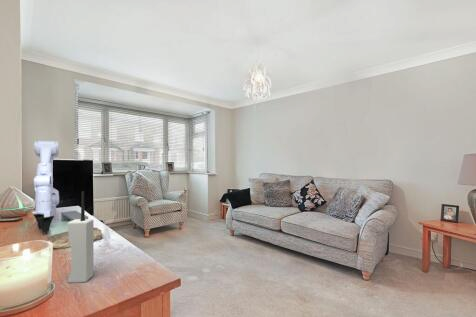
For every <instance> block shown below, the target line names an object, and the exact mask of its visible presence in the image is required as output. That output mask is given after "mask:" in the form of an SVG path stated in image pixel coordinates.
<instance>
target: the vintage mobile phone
mask: <svg viewBox="0 0 476 317" xmlns="http://www.w3.org/2000/svg"><path fill="white" fill-rule="evenodd" d="M85 210H86V209H85V191H81V209H80V213H81V219H75V220H73V221H70V222H68V234H69V241H70V243H71V247H70V249H71V250H70V255H71V256H70V259H71V260H70V262H71V263H70V274H69V275H68V277H67V283H69V284H74V283H87V282H88V281H90V279H91V278H92V277H93V276H94V273H95V272H94V241H93V228H94V219H93V218H88V219H85V215H86V214H85V212H86V211H85Z"/></svg>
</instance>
